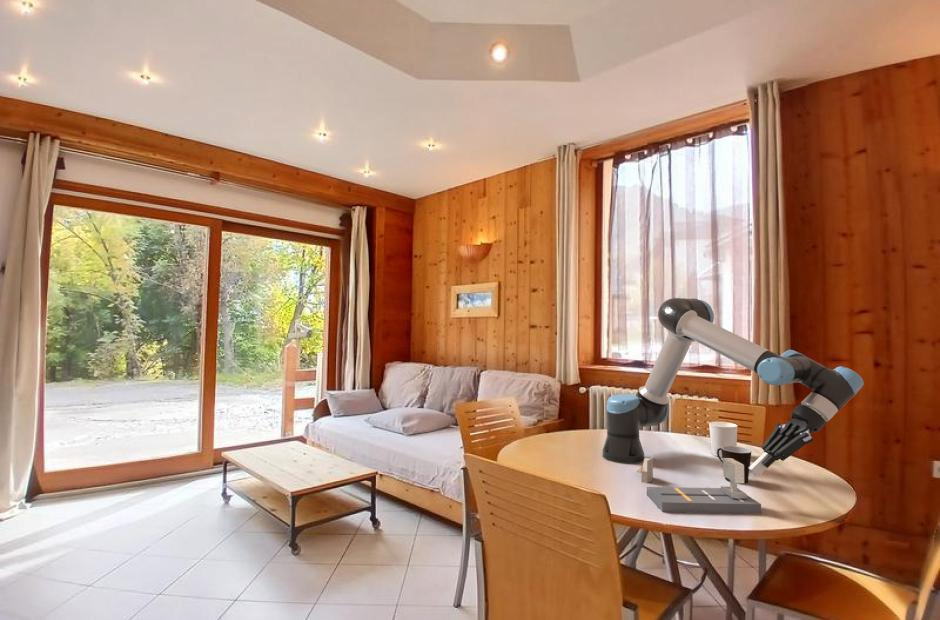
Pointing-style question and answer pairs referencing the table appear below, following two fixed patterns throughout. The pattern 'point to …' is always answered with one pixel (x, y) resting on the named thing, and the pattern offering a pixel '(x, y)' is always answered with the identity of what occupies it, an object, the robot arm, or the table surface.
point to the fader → (733, 478)
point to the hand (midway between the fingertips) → (753, 472)
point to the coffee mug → (737, 458)
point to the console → (700, 500)
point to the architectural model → (647, 470)
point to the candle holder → (722, 436)
